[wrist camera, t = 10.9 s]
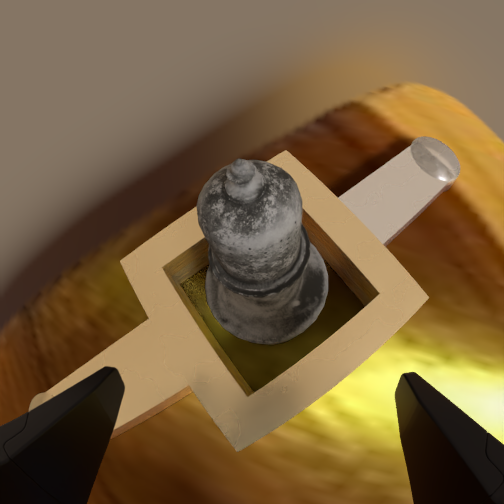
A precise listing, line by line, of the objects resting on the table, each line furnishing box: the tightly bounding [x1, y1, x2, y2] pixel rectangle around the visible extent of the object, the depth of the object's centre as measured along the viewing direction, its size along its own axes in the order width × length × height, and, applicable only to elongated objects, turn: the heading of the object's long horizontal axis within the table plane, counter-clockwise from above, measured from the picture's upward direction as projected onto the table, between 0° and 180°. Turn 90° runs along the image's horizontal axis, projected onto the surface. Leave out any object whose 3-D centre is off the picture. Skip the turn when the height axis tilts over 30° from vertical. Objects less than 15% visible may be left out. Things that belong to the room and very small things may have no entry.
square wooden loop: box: [29, 150, 429, 452], centre depth 15 cm, size 24×12×3 cm, turn 126°
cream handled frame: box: [172, 137, 460, 395], centre depth 17 cm, size 24×12×2 cm, turn 126°
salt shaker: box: [197, 159, 328, 345], centre depth 12 cm, size 6×6×12 cm
